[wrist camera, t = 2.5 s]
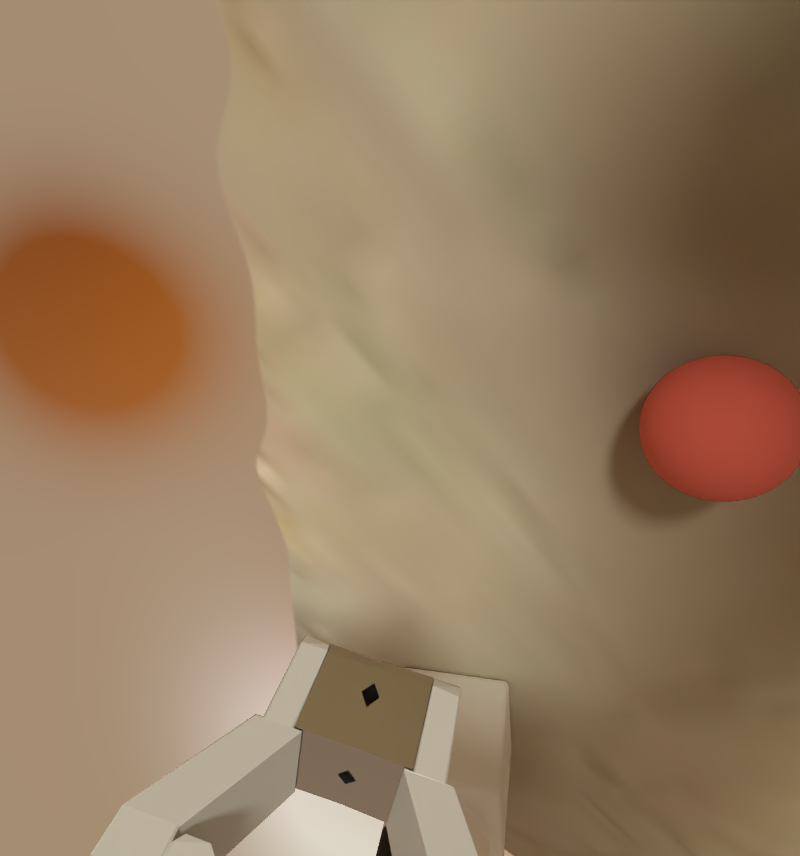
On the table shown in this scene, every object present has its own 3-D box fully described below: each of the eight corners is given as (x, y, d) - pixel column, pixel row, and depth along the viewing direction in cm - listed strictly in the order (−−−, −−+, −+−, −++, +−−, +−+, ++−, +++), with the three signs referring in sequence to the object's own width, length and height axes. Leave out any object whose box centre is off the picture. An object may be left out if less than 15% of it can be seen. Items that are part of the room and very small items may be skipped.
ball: (661, 320, 22) (692, 372, 17) (806, 354, 21) (879, 417, 16) (612, 435, 25) (626, 506, 20) (737, 468, 24) (783, 550, 19)
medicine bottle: (414, 729, 39) (365, 936, 29) (402, 664, 36) (343, 871, 26) (511, 746, 37) (496, 974, 27) (509, 678, 34) (490, 909, 24)
